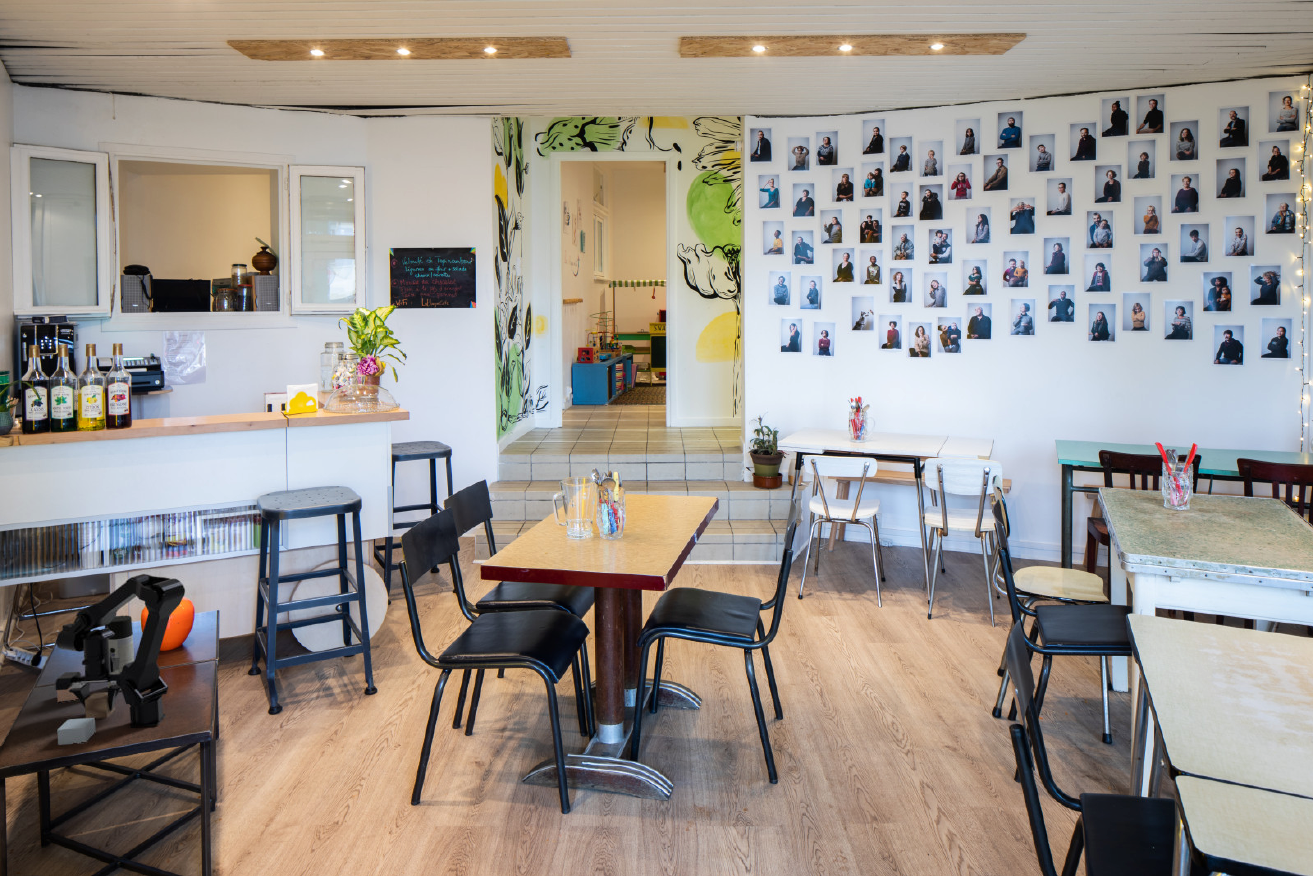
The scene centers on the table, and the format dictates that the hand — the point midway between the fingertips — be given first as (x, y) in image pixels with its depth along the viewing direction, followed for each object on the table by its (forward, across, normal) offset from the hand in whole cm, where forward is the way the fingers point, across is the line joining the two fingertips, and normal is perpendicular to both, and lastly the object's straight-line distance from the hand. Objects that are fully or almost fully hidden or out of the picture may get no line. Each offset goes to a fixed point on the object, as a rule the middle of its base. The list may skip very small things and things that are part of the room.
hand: (100, 710), depth 238 cm
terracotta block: (+1, +13, -13) cm, 18 cm away
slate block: (+1, 0, +14) cm, 14 cm away
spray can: (+1, +2, -19) cm, 19 cm away
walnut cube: (+1, 0, 0) cm, 1 cm away
